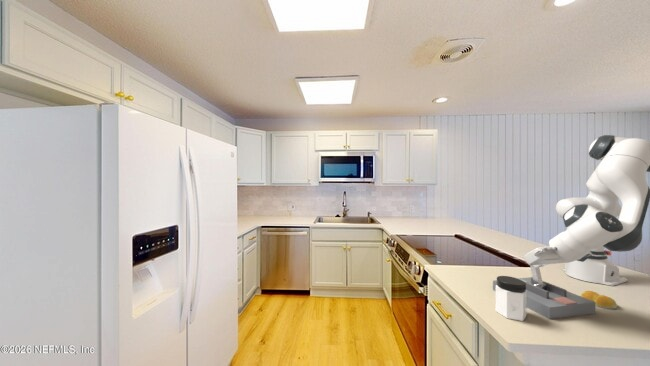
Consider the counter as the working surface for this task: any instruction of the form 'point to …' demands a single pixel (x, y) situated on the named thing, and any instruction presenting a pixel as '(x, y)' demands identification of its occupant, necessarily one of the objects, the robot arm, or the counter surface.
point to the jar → (511, 298)
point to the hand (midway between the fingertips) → (536, 265)
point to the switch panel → (555, 301)
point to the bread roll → (599, 299)
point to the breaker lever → (537, 278)
